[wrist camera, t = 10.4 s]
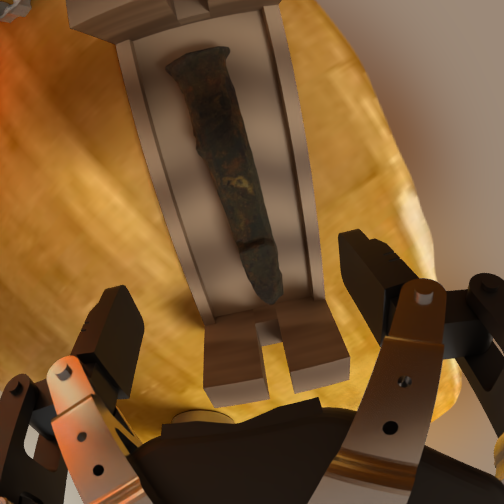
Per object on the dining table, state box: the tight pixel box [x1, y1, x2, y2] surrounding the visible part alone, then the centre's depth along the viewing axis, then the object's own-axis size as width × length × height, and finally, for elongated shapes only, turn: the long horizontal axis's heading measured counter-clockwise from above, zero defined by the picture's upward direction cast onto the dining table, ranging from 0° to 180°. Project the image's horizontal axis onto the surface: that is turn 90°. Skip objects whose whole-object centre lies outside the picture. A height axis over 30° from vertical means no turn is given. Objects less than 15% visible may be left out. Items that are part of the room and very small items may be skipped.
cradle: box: [66, 0, 350, 408], centre depth 19 cm, size 30×11×9 cm, turn 12°
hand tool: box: [165, 46, 284, 305], centre depth 20 cm, size 19×4×5 cm, turn 13°
